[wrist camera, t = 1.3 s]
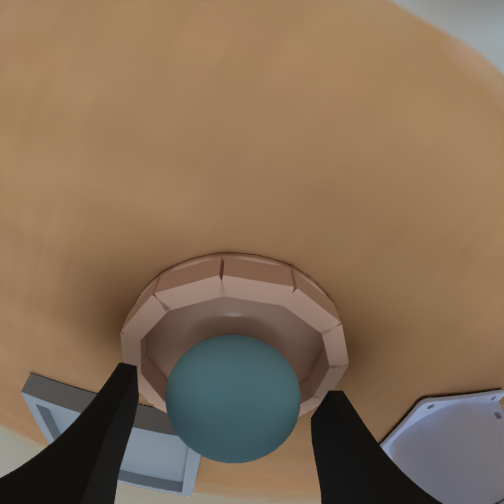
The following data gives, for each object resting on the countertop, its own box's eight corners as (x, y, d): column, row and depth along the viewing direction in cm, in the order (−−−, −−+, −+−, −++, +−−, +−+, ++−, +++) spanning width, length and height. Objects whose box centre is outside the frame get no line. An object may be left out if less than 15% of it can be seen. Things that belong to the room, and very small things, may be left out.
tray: (206, 416, 16) (204, 440, 15) (192, 480, 21) (191, 496, 20) (31, 372, 15) (21, 391, 14) (67, 450, 20) (62, 465, 19)
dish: (371, 275, 12) (385, 299, 11) (301, 412, 16) (305, 435, 15) (131, 232, 11) (117, 253, 10) (133, 389, 15) (127, 413, 14)
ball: (308, 317, 13) (333, 423, 8) (275, 393, 15) (283, 484, 10) (180, 296, 12) (154, 406, 8) (172, 379, 14) (156, 472, 10)
